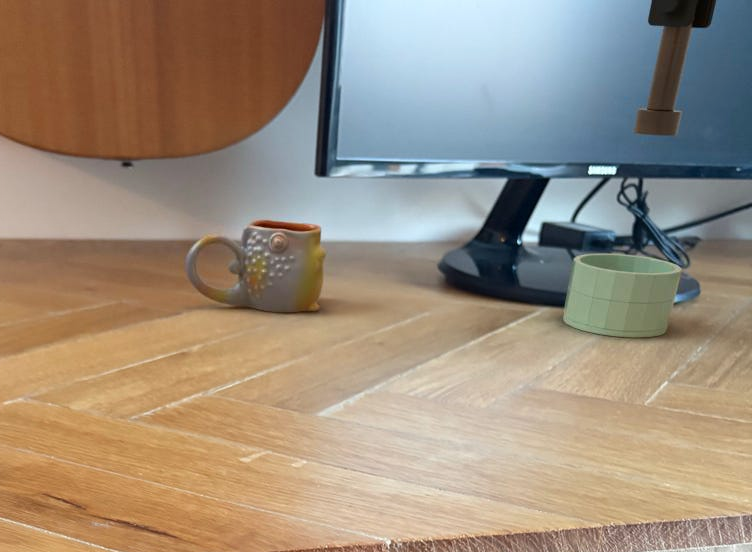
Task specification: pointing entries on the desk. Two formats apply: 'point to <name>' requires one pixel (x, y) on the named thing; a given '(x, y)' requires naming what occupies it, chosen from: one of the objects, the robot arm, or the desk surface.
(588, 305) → the bowl
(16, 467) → the desk surface
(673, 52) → the stick
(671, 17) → the robot arm
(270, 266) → the mug
